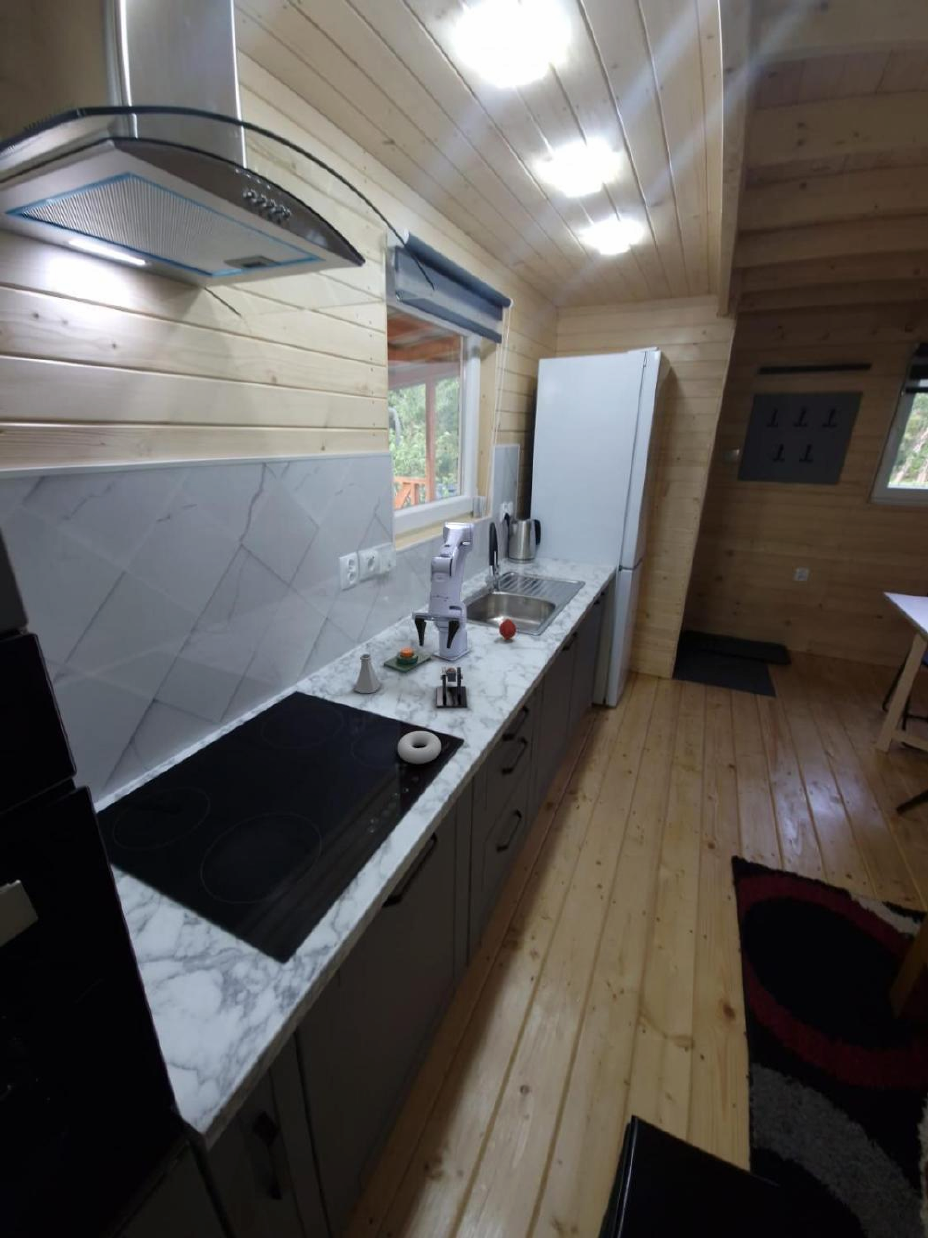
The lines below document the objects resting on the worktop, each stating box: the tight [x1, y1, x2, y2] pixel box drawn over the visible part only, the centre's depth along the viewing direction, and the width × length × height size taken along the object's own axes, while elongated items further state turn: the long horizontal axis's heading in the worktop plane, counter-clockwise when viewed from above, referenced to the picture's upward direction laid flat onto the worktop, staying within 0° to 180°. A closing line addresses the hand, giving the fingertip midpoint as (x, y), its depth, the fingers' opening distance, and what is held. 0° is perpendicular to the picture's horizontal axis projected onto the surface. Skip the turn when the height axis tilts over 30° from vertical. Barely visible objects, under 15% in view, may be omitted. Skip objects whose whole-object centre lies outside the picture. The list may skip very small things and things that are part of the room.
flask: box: [354, 653, 381, 694], centre depth 139 cm, size 7×7×10 cm
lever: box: [446, 667, 457, 683], centre depth 137 cm, size 11×3×3 cm, turn 2°
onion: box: [498, 618, 517, 641], centre depth 170 cm, size 6×6×8 cm
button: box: [400, 647, 414, 658], centre depth 153 cm, size 4×4×2 cm
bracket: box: [436, 666, 468, 709], centre depth 133 cm, size 10×8×9 cm
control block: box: [383, 650, 431, 674], centre depth 154 cm, size 12×9×3 cm
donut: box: [397, 730, 442, 765], centre depth 113 cm, size 10×4×10 cm
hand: (434, 647), depth 137 cm, fingers open, 7 cm apart
